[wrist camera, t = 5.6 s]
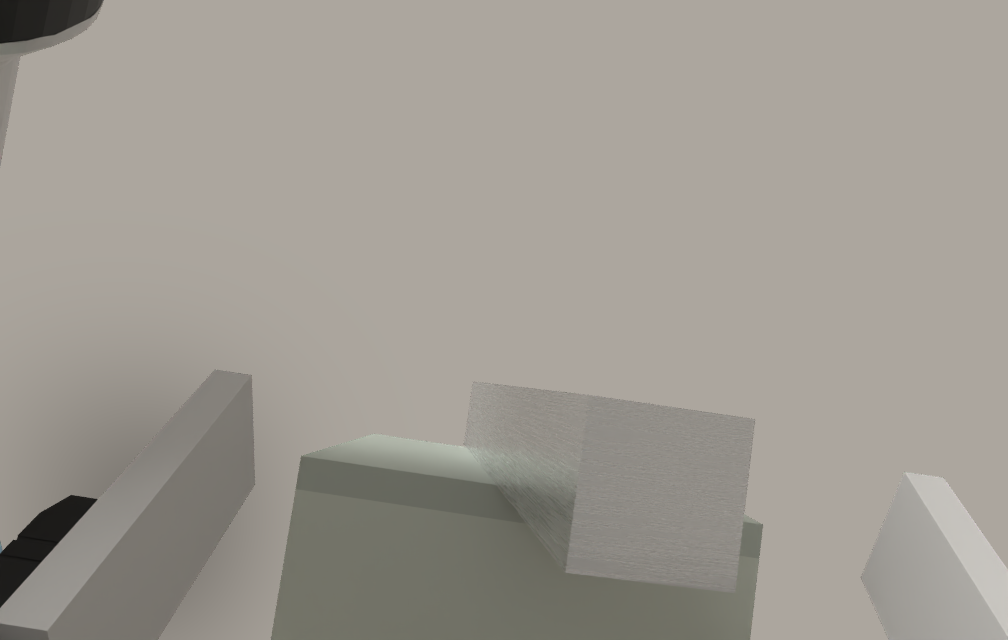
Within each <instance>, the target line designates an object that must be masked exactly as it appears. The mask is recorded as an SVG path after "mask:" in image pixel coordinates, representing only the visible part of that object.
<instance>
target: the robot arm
mask: <svg viewBox="0 0 1008 640" xmlns="http://www.w3.org/2000/svg"><path fill="white" fill-rule="evenodd" d="M103 1H104V0H0V163H1V159H2V153H3V148H4V142H5V136H6V131H7V126H8V120H9V114H10V109H11V104H12V98H13V93H14V87H15V82H16V77H17V71H18V66H19V60H20V56H23V55H26V54H29V53H32V52H36V51H39V50H42V49H45V48H48V47H52V46H54V45H57V44H59V43H62V42H65V41H67V40H70V39H72V38H74V37H75V36H77V35H79V34H80V33H82V32H83V31H85V30H87V28H88V27H89V26H90V25H91V24H92V23H93V22H94V21H95V20H96V19H97V16H98V14H99V12H100V9H101V7H102V4H103ZM252 402H253V401H252V375H248V374H241V373H234V372H227V371H220V370H214V371H213V372H212V373H211V375H210V376H209V377H208V378H207V379H206V380H205V381H204V382H203V383H202V384H201V386H200V387H199V388H198V389H197V390H196V391H195V392H194V394H192V396H191V397H190V398H189V399H188V400H187V401H186V402H185V403H184V404H183V406H182V407H181V408H180V409H179V410H178V411H177V412H176V413H175V414H174V416H173V417H172V418H171V419H170V420H169V421H168V422H167V423H166V425H165V426H164V427H163V428H162V429H161V430H160V431H159V432H158V433H157V434H156V436H155V437H154V438H153V439H152V440H151V441H150V442H149V443H148V445H147V446H146V447H145V448H144V449H143V450H142V451H141V452H140V453H139V455H138V456H137V457H136V458H135V459H134V460H133V461H132V462H131V463H130V464H129V466H128V467H127V468H126V469H125V470H124V471H123V472H122V473H121V474H120V476H119V477H118V478H117V479H116V480H115V481H114V482H113V483H112V484H111V486H110V487H109V488H108V489H107V490H106V491H105V492H104V493H103V494H102V496H101V497H100V498H99V499H93V498H87V497H80V496H74V495H70V496H69V497H67V498H65V499H63V500H62V501H60V502H58V503H57V504H55V505H53V506H51V507H49V508H48V509H46V510H44V511H42V512H41V513H39V514H38V515H37V516H36V517H35V518H34V519H33V520H32V521H31V523H30V524H29V525H28V526H27V527H26V528H25V529H24V530H23V531H22V532H21V533H20V534H19V535H18V538H17V540H13V541H12V542H11V543H10V544H9V545H8V546H7V547H6V548H5V549H4V550H3V551H2V546H1V542H0V640H158V639H159V637H160V636H161V634H162V632H163V631H164V629H165V627H166V626H167V624H168V623H169V621H170V620H171V618H172V616H173V615H174V613H175V612H176V610H177V608H178V607H179V605H180V603H181V602H182V600H183V599H184V597H185V595H186V594H187V592H188V591H189V589H190V588H191V586H192V584H193V583H194V581H195V580H196V578H197V576H198V575H199V573H200V572H201V570H202V568H203V567H204V565H205V564H206V562H207V561H208V559H209V557H210V556H211V554H212V552H213V551H214V549H215V548H216V546H217V545H218V543H219V541H220V540H221V538H222V536H223V535H224V533H225V532H226V530H227V528H228V527H229V525H230V524H231V522H232V521H233V519H234V517H235V516H236V514H237V513H238V511H239V509H240V508H241V506H242V505H243V503H244V501H245V500H246V498H247V497H248V495H249V493H250V492H251V490H252V488H253V487H254V485H255V470H254V439H253V438H254V436H253V405H252V404H253V403H252ZM861 579H862V582H863V584H864V586H865V588H866V590H867V593H868V595H869V597H870V599H871V601H872V604H873V606H874V608H875V611H876V613H877V615H878V617H879V619H880V622H881V624H882V626H883V628H884V630H885V633H886V635H887V637H888V639H889V640H1008V569H1007V568H1006V567H1005V565H1004V564H1003V562H1002V561H1001V559H1000V558H999V557H998V555H997V554H996V552H995V551H994V549H993V548H992V547H991V545H990V544H989V542H988V541H987V539H986V538H985V537H984V535H983V534H982V532H981V531H980V529H979V528H978V526H977V525H976V524H975V522H974V521H973V520H972V518H971V516H970V515H969V514H968V512H967V511H966V509H965V508H964V506H963V505H962V503H961V502H960V501H959V500H958V498H957V496H956V495H955V493H954V492H953V491H952V489H951V488H950V486H949V485H948V483H947V482H946V480H945V479H944V478H942V477H936V476H929V475H922V474H915V473H909V472H904V474H903V476H902V479H901V481H900V483H899V486H898V488H897V491H896V493H895V496H894V498H893V500H892V503H891V505H890V508H889V510H888V513H887V515H886V517H885V520H884V522H883V525H882V527H881V530H880V532H879V535H878V537H877V539H876V542H875V545H874V547H873V549H872V552H871V554H870V556H869V559H868V561H867V564H866V566H865V569H864V571H863V573H862V576H861Z"/></svg>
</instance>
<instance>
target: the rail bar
mask: <svg viewBox="0 0 1008 640" xmlns="http://www.w3.org/2000/svg"><path fill="white" fill-rule="evenodd" d="M754 424H755V419H750V418H743V417H735V416H729V415H722V414H715V413H708V412H702V411H695V410H688V409H681V408H674V407H667V406H660V405H654V404H647V403H639V402H633V401H625V400H618V399H612V398H605V397H598V396H591V395H584V394H575V393H567V392H557V391H549V390H541V389H533V388H524V387H515V386H507V385H498V384H490V383H481V382H473V385H472V392H471V399H470V406H469V413H468V419H467V426H466V433H465V440H464V445H465V446H466V448H467V449H468V450H469V452H470V453H471V454H472V455H473V457H474V458H475V459H476V460H477V462H478V463H479V464H480V466H481V467H482V468H483V469H484V471H485V472H486V473H487V474H488V476H489V477H490V478H491V479H492V481H493V482H494V483H495V484H496V486H497V487H498V488H499V490H500V491H501V492H502V493H503V495H504V496H505V497H506V498H507V500H508V501H509V502H510V503H511V505H512V506H513V507H514V509H515V510H516V511H517V512H518V514H519V515H520V516H521V517H522V519H523V520H524V521H525V522H526V524H527V525H528V526H529V528H530V529H531V530H532V531H533V533H534V534H535V535H536V536H537V538H538V539H539V540H540V541H541V543H542V544H543V545H544V547H545V548H546V549H547V550H548V552H549V553H550V554H551V555H552V557H553V558H554V559H555V560H556V562H557V563H558V564H559V566H560V567H561V568H562V569H563V571H564V572H565V573H570V574H578V575H587V576H595V577H604V578H612V579H621V580H629V581H637V582H646V583H654V584H663V585H671V586H679V587H688V588H696V589H705V590H713V591H722V592H730V593H735V590H736V581H737V572H738V563H739V555H740V546H741V537H742V529H743V520H744V511H745V502H746V493H747V485H748V477H749V468H750V459H751V450H752V442H753V433H754Z"/></svg>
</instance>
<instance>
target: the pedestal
mask: <svg viewBox="0 0 1008 640" xmlns="http://www.w3.org/2000/svg"><path fill="white" fill-rule="evenodd" d="M762 528H763V524H761V523H759V522H757V521H755V520H754V519H752V518H750V517H748V516H746V515H745V514H744V520H743V529H742V537H741V546H740V555H739V563H738V572H737V581H736V590H735V593H730V592H722V591H713V590H705V589H696V588H688V587H679V586H671V585H663V584H654V583H646V582H637V581H629V580H621V579H612V578H604V577H595V576H587V575H578V574H570V573H565V572H564V571H563V569H562V568H561V567H560V566H559V564H558V563H557V562H556V560H555V559H554V558H553V557H552V555H551V554H550V553H549V552H548V550H547V549H546V548H545V547H544V545H543V544H542V543H541V541H540V540H539V539H538V538H537V536H536V535H535V534H534V533H533V531H532V530H531V529H530V528H529V526H528V525H527V524H526V522H525V521H524V520H523V519H522V517H521V516H520V515H519V514H518V512H517V511H516V510H515V509H514V507H513V506H512V505H511V503H510V502H509V501H508V500H507V498H506V497H505V496H504V495H503V493H502V492H501V491H500V490H499V488H498V487H497V486H496V484H495V483H494V482H493V481H492V479H491V478H490V477H489V476H488V474H487V473H486V472H485V471H484V469H483V468H482V467H481V466H480V464H479V463H478V462H477V460H476V459H475V458H474V457H473V455H472V454H471V453H470V452H469V450H468V449H467V448H466V447H460V446H454V445H448V444H440V443H434V442H427V441H420V440H414V439H407V438H400V437H393V436H386V435H379V434H372V435H369V436H365V437H362V438H359V439H355V440H352V441H349V442H346V443H343V444H339V445H336V446H332V447H329V448H326V449H323V450H319V451H316V452H313V453H310V454H306V455H303V456H301V461H300V467H299V473H298V479H297V485H296V491H295V497H294V503H293V510H292V515H291V522H290V527H289V534H288V539H287V545H286V552H285V559H284V564H283V570H282V576H281V582H280V588H279V594H278V600H277V606H276V612H275V618H274V624H273V631H272V636H271V640H750V635H751V625H752V617H753V608H754V600H755V590H756V582H757V573H758V564H759V555H760V546H761V538H762Z"/></svg>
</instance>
